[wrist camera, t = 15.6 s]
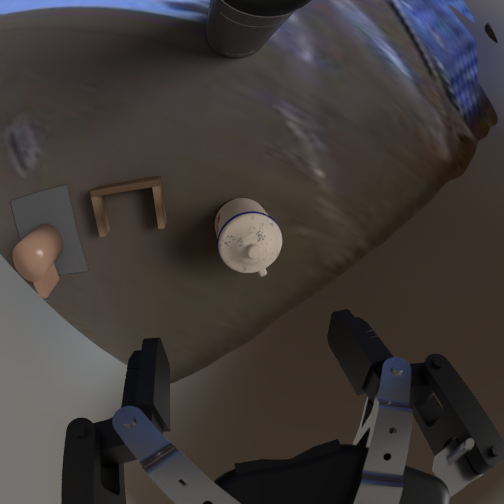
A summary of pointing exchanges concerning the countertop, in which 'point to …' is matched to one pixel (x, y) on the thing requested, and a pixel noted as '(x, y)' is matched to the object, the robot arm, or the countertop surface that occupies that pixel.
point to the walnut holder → (99, 192)
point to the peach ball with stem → (39, 258)
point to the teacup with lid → (247, 236)
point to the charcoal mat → (56, 214)
